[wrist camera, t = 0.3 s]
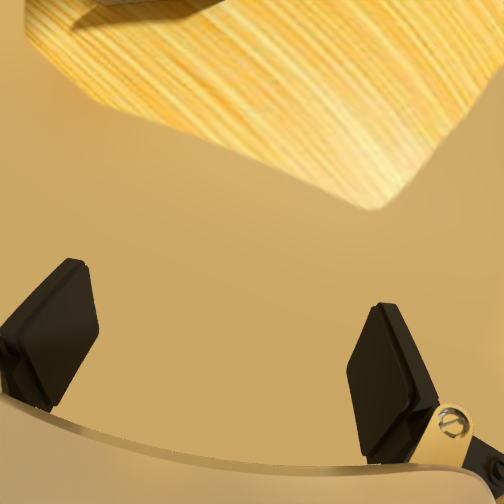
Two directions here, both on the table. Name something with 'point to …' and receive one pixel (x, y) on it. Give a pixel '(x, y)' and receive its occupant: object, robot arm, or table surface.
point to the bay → (119, 1)
